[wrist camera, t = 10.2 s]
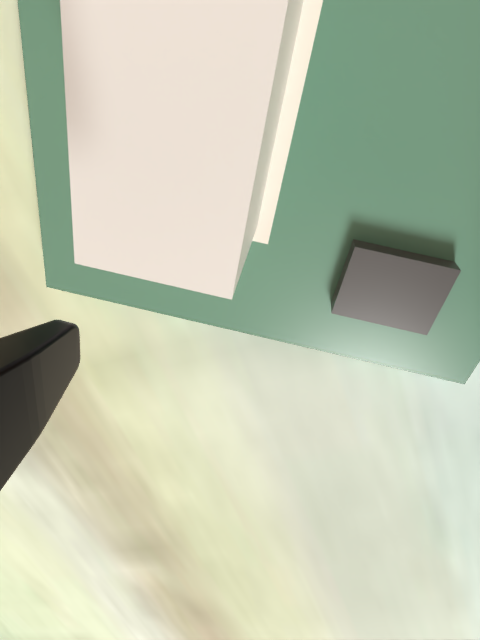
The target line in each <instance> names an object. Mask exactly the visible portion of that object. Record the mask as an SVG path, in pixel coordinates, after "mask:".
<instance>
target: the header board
mask: <svg viewBox="0 0 480 640" xmlns="http://www.w3.org/2000/svg"><path fill="white" fill-rule="evenodd" d="M18 9H19V19H20V29H21V39H22V49H23V58H24V68H25V78H26V88H27V98H28V108H29V118H30V128H31V138H32V147H33V157H34V167H35V177H36V187H37V197H38V207H39V217H40V226H41V236H42V246H43V256H44V266H45V276H46V286H47V287H50V288H54V289H58V290H62V291H67V292H71V293H75V294H80V295H84V296H88V297H93V298H97V299H101V300H105V301H110V302H114V303H118V304H123V305H127V306H131V307H135V308H140V309H144V310H148V311H153V312H157V313H161V314H165V315H170V316H174V317H178V318H183V319H187V320H191V321H195V322H200V323H204V324H208V325H213V326H217V327H221V328H225V329H230V330H234V331H238V332H243V333H247V334H251V335H255V336H260V337H264V338H268V339H273V340H277V341H281V342H285V343H290V344H294V345H298V346H303V347H307V348H311V349H315V350H320V351H324V352H328V353H333V354H337V355H341V356H345V357H350V358H354V359H358V360H363V361H367V362H371V363H375V364H380V365H384V366H388V367H393V368H397V369H401V370H406V371H410V372H414V373H418V374H423V375H427V376H431V377H436V378H440V379H444V380H448V381H453V382H457V383H461V384H465V383H466V381H467V380H468V378H469V377H470V375H471V373H472V372H473V370H474V369H475V367H476V366H477V364H478V363H479V361H480V0H304V3H303V7H302V12H301V17H300V22H299V27H298V32H297V37H296V41H295V46H294V51H293V56H292V61H291V66H290V70H289V75H288V80H287V85H286V90H285V95H284V100H283V104H282V109H281V114H280V119H279V124H278V129H277V134H276V138H275V143H274V148H273V153H272V158H271V163H270V167H269V172H268V177H267V182H266V187H265V192H264V197H263V201H262V206H261V211H260V216H259V221H258V226H257V229H256V232H255V234H254V237H253V240H252V243H251V246H250V249H249V252H248V255H247V257H246V260H245V263H244V266H243V269H242V272H241V275H240V277H239V280H238V283H237V286H236V289H235V292H234V295H233V298H232V300H231V299H227V298H222V297H218V296H214V295H209V294H205V293H201V292H196V291H192V290H188V289H183V288H179V287H175V286H170V285H166V284H162V283H157V282H153V281H149V280H144V279H140V278H136V277H131V276H127V275H123V274H118V273H114V272H110V271H105V270H101V269H97V268H92V267H88V266H84V265H79V264H75V262H74V244H73V226H72V208H71V190H70V172H69V154H68V136H67V118H66V100H65V82H64V64H63V46H62V28H61V10H60V0H18Z"/></svg>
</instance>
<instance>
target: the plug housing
mask: <svg viewBox="0 0 480 640" xmlns="http://www.w3.org/2000/svg"><path fill="white" fill-rule="evenodd" d="M303 3H304V0H60V10H61V28H62V46H63V64H64V82H65V100H66V118H67V136H68V154H69V172H70V190H71V208H72V226H73V244H74V262H75V264H79V265H84V266H88V267H92V268H97V269H101V270H105V271H110V272H114V273H118V274H123V275H127V276H131V277H136V278H140V279H144V280H149V281H153V282H157V283H162V284H166V285H170V286H175V287H179V288H183V289H188V290H192V291H196V292H201V293H205V294H209V295H214V296H218V297H222V298H227V299H231V300H232V298H233V295H234V292H235V289H236V286H237V283H238V280H239V277H240V275H241V272H242V269H243V266H244V263H245V260H246V257H247V255H248V252H249V249H250V246H251V243H252V240H253V237H254V234H255V232H256V229H257V226H258V221H259V216H260V211H261V206H262V201H263V197H264V192H265V187H266V182H267V177H268V172H269V167H270V163H271V158H272V153H273V148H274V143H275V138H276V134H277V129H278V124H279V119H280V114H281V109H282V104H283V100H284V95H285V90H286V85H287V80H288V75H289V70H290V66H291V61H292V56H293V51H294V46H295V41H296V37H297V32H298V27H299V22H300V17H301V12H302V7H303Z"/></svg>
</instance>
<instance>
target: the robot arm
mask: <svg viewBox="0 0 480 640" xmlns="http://www.w3.org/2000/svg"><path fill="white" fill-rule="evenodd" d="M79 363H80V336H79V328H78V326H77V325H75V324H73V323H69V322H65V321H62V320H53V321H50V322H47V323H44V324H41V325H38V326H35V327H32V328H29V329H26V330H23V331H20V332H17V333H14V334H11V335H8V336H5V337H2V338H0V491H1V489H2V488H3V486H4V485H5V484H6V482H7V481H8V479H9V478H10V477H11V475H12V474H13V472H14V471H15V470H16V468H17V467H18V465H19V464H20V463H21V461H22V460H23V458H24V457H25V456H26V454H27V453H28V451H29V450H30V449H31V447H32V446H33V444H34V443H35V441H36V440H37V439H38V437H39V436H40V434H41V432H42V431H43V429H44V427H45V426H46V424H47V422H48V421H49V419H50V417H51V415H52V413H53V412H54V410H55V408H56V406H57V405H58V403H59V401H60V399H61V397H62V396H63V394H64V392H65V390H66V388H67V387H68V385H69V383H70V381H71V380H72V378H73V376H74V374H75V372H76V371H77V369H78V366H79Z"/></svg>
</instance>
